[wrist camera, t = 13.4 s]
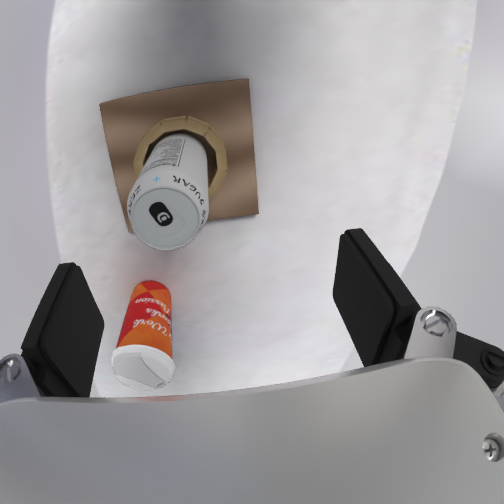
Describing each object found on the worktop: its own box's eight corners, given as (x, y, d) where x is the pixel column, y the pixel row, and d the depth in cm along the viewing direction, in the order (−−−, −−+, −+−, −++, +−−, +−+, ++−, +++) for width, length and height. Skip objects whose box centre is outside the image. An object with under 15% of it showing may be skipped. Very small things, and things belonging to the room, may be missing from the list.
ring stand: (102, 102, 29) (92, 107, 27) (247, 78, 31) (252, 79, 28) (130, 228, 38) (125, 243, 35) (257, 210, 40) (262, 223, 37)
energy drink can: (171, 192, 36) (154, 270, 23) (142, 149, 32) (104, 208, 20) (216, 166, 35) (225, 233, 22) (189, 120, 31) (178, 161, 19)
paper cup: (189, 297, 45) (189, 377, 34) (153, 322, 47) (146, 399, 36) (149, 263, 42) (135, 343, 30) (115, 293, 43) (95, 370, 32)
